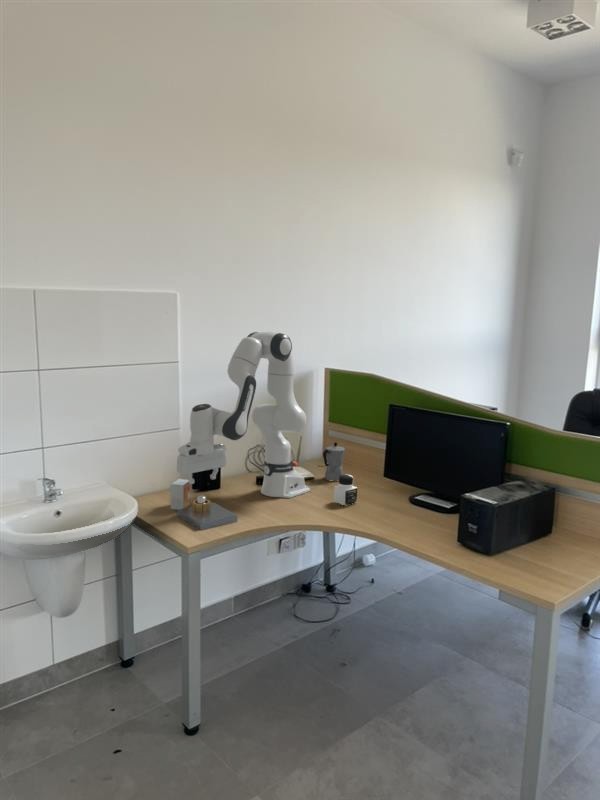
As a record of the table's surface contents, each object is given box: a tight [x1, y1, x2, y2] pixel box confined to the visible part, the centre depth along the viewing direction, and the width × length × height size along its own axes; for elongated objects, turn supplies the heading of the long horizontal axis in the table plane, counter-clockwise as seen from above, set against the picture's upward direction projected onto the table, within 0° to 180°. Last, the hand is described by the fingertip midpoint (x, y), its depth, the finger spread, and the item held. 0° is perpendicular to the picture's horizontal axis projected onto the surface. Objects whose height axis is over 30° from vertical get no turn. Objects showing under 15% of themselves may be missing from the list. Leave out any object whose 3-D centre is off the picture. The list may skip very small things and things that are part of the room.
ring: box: [191, 498, 212, 512], centre depth 236 cm, size 7×7×3 cm
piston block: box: [176, 494, 239, 531], centre depth 233 cm, size 16×18×8 cm
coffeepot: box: [322, 442, 346, 482], centre depth 290 cm, size 15×9×18 cm, turn 138°
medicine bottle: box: [333, 473, 358, 506], centre depth 257 cm, size 7×7×12 cm
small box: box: [170, 478, 192, 511], centre depth 245 cm, size 8×6×10 cm
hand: (202, 481), depth 235 cm, fingers open, 8 cm apart
